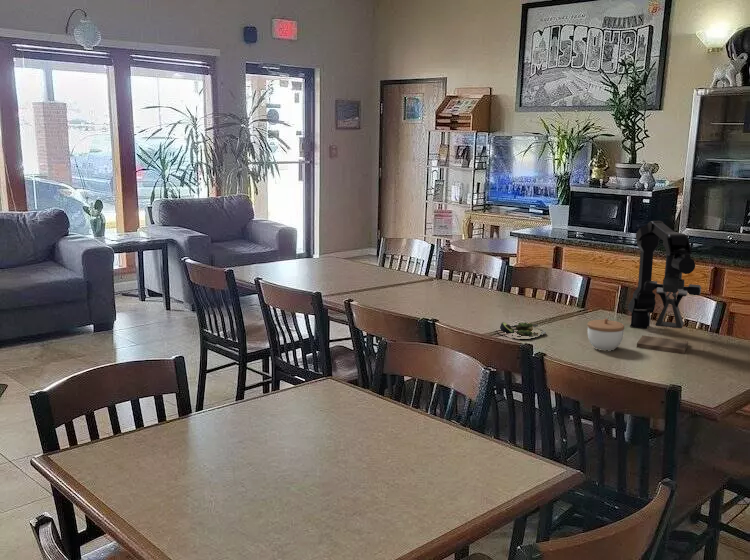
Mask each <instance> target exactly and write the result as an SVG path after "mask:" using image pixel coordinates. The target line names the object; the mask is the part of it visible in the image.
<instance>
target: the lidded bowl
mask: <svg viewBox="0 0 750 560" xmlns="http://www.w3.org/2000/svg"><path fill="white" fill-rule="evenodd" d="M624 329H625V325H624V324H623V323H622V322H619V321H615V320H609V319H608V318H604V319H593V320H590V321H588V322H587V337H588V342H589V343H590V344H591V346H593V348H594V347H595V348H597V349H601V350H608V351H607V352H612V351H611V350H613V351H615V350H614V349H616V348H617V347H619V346H620V344H621V342H622V340H623V338H624ZM595 348H594V349H595ZM597 349H596V350H597ZM609 350H610V351H609Z"/></svg>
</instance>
